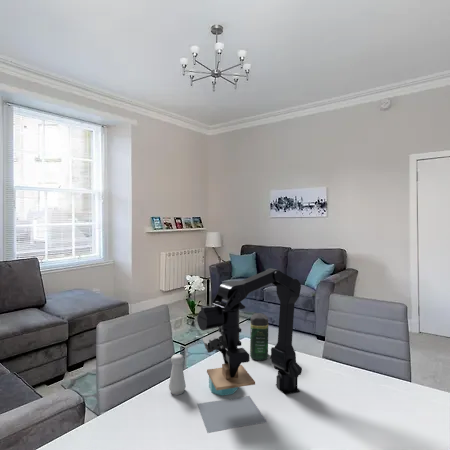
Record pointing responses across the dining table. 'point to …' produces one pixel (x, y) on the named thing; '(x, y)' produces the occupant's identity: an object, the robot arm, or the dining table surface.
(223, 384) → the lid
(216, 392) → the bowl
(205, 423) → the mat
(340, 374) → the dining table surface
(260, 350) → the coffee jar
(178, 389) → the salt shaker
